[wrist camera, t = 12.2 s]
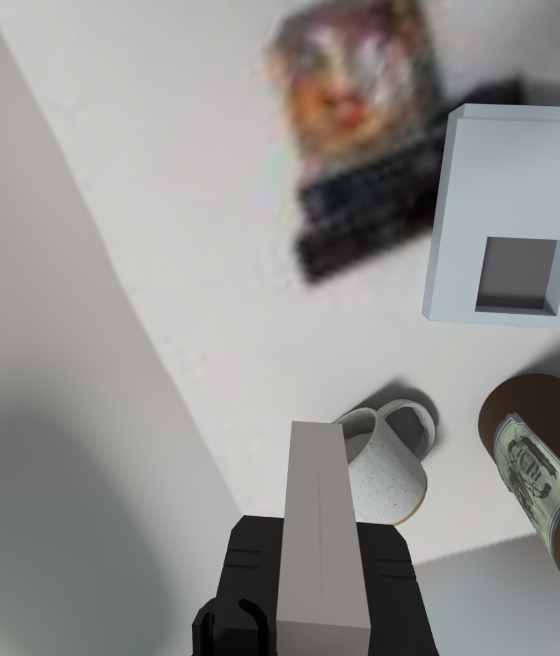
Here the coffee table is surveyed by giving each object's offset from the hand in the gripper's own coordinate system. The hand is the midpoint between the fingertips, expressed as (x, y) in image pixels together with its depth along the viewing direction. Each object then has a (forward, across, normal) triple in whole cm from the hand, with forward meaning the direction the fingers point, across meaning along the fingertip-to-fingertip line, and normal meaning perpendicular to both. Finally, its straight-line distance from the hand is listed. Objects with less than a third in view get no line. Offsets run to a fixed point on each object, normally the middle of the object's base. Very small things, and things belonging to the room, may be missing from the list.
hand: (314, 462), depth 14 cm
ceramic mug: (+27, +7, -14) cm, 31 cm away
